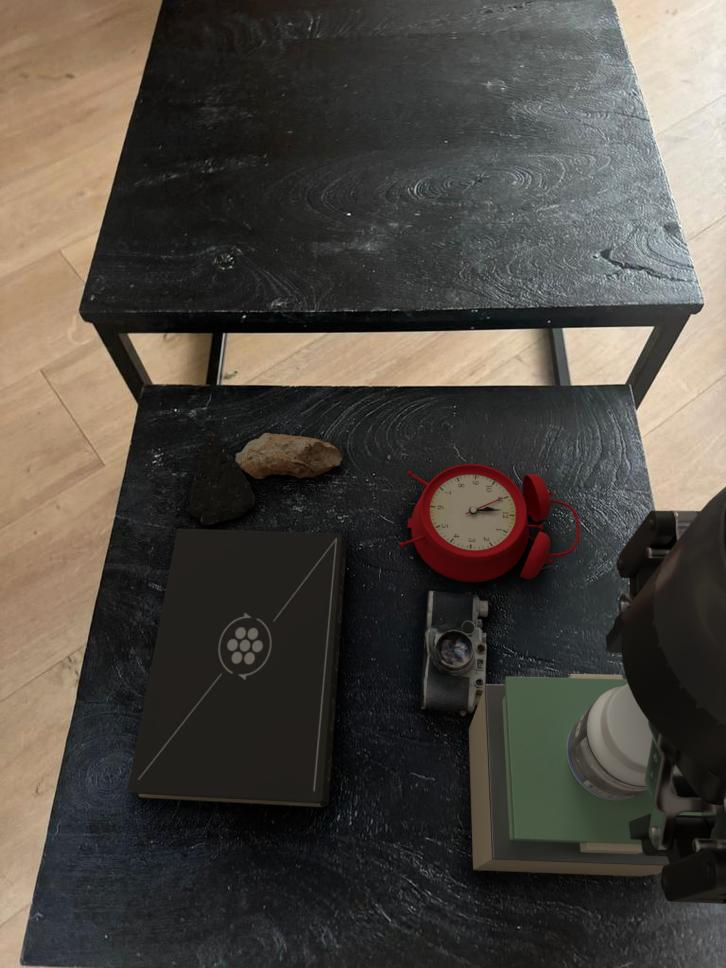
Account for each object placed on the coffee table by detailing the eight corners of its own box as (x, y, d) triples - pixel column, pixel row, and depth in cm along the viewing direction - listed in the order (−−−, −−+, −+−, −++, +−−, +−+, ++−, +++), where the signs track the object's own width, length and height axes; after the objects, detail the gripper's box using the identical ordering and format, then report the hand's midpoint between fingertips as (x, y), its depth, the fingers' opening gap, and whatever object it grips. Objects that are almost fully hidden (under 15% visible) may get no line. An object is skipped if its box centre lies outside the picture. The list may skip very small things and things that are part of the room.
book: (329, 808, 58) (326, 803, 55) (138, 798, 59) (126, 792, 56) (347, 547, 68) (345, 533, 66) (185, 542, 69) (176, 528, 67)
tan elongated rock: (340, 491, 73) (346, 440, 74) (335, 483, 69) (342, 430, 70) (234, 480, 74) (242, 430, 75) (225, 472, 70) (233, 419, 71)
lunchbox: (667, 693, 48) (691, 674, 44) (694, 859, 43) (723, 854, 39) (496, 689, 48) (505, 670, 44) (505, 852, 44) (515, 846, 40)
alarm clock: (404, 453, 69) (577, 447, 64) (418, 487, 74) (579, 484, 69) (392, 559, 64) (579, 560, 59) (408, 588, 69) (581, 590, 64)
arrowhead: (188, 528, 69) (178, 436, 74) (191, 531, 70) (180, 439, 75) (256, 511, 69) (241, 420, 74) (258, 515, 70) (243, 424, 75)
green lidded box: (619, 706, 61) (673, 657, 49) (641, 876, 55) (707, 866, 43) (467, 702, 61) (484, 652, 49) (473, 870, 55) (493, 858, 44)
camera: (487, 598, 65) (492, 580, 62) (481, 720, 61) (487, 708, 57) (428, 592, 66) (430, 574, 62) (418, 713, 61) (419, 701, 57)
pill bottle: (612, 695, 43) (655, 651, 36) (671, 768, 41) (729, 738, 34) (546, 742, 42) (577, 707, 35) (604, 820, 40) (649, 800, 33)
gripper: (1017, 905, 19) (750, 907, 33) (854, 418, 25) (692, 594, 40) (701, 892, 19) (573, 900, 33) (625, 417, 26) (546, 591, 40)
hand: (638, 733), depth 36 cm, fingers open, 8 cm apart
